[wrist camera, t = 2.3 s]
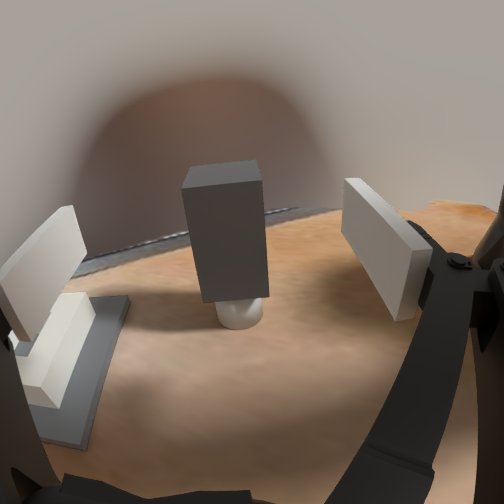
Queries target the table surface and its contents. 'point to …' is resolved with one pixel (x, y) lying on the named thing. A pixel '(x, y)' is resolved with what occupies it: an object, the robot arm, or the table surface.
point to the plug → (228, 239)
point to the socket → (69, 365)
